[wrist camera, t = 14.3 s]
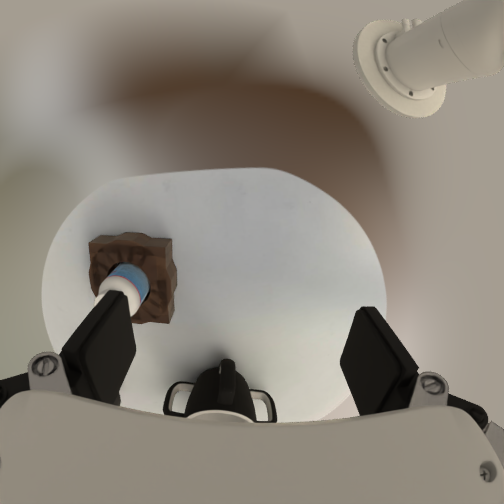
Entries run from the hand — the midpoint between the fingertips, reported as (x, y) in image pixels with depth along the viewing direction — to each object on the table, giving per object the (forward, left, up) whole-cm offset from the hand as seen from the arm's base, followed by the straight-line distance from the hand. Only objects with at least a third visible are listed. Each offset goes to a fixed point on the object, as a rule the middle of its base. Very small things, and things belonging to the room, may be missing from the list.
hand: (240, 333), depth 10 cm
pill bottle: (+11, -15, -29) cm, 35 cm away
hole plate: (+11, -15, -29) cm, 34 cm away
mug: (+33, -1, -29) cm, 44 cm away
